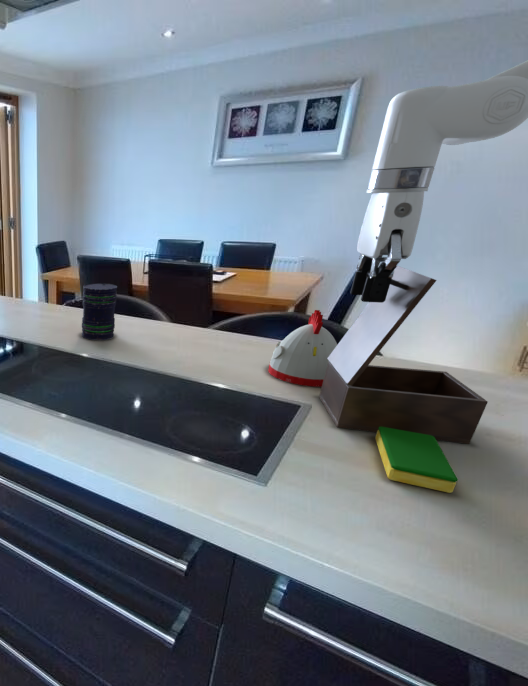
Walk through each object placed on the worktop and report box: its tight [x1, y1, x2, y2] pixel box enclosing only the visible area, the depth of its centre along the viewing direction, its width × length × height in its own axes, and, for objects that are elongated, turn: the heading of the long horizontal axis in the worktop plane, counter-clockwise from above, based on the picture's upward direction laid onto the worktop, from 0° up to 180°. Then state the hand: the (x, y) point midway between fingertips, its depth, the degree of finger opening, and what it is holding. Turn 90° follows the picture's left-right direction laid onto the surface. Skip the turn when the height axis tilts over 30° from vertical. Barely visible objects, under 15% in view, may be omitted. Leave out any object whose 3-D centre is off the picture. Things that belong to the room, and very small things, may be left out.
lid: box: [327, 265, 437, 386], centre depth 77 cm, size 19×14×6 cm
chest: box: [318, 362, 489, 445], centre depth 80 cm, size 19×14×8 cm
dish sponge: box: [374, 427, 459, 494], centre depth 67 cm, size 7×14×2 cm, turn 150°
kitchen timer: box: [267, 309, 338, 388], centre depth 99 cm, size 14×14×15 cm
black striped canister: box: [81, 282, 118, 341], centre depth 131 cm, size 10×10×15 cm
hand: (366, 297), depth 75 cm, fingers closed on lid, 5 cm apart
